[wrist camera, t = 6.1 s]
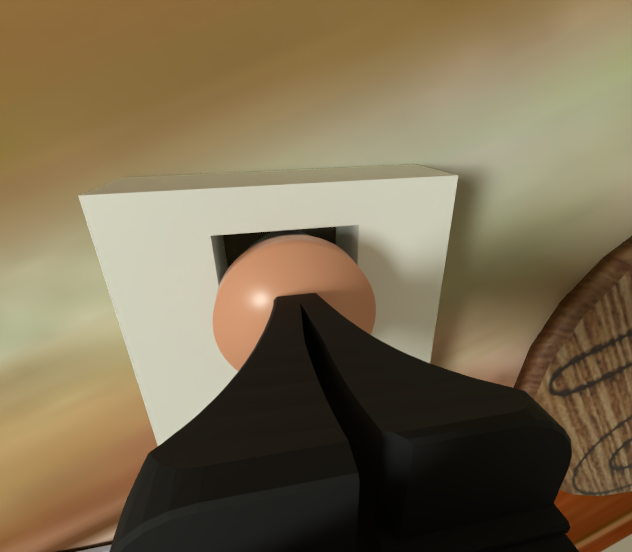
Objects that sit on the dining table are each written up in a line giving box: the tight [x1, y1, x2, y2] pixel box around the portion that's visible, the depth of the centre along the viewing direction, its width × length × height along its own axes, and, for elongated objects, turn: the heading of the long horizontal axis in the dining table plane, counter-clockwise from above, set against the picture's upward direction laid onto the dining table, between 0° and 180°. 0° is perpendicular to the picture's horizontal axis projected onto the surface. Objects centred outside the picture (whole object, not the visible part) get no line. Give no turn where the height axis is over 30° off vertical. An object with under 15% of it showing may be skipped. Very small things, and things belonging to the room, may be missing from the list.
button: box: [213, 230, 376, 371], centre depth 12 cm, size 5×5×4 cm
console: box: [78, 164, 458, 446], centre depth 16 cm, size 20×12×4 cm, turn 1°
